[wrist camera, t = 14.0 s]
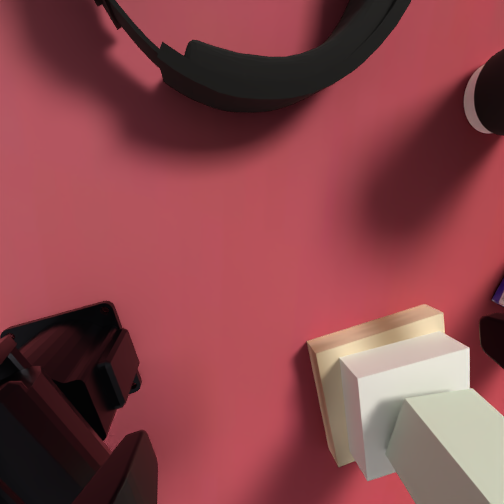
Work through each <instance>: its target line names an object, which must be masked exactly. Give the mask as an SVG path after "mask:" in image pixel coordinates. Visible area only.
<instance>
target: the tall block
mask: <svg viewBox="0 0 504 504" xmlns="http://www.w3.org/2000/svg"><path fill="white" fill-rule="evenodd" d="M385 455H386V456H387V458H388V459H389V461H390V463H391V464H392V466H393V468H394V469H395V471H396V472H397V474H398V476H399V477H400V479H401V481H402V482H403V484H404V485H405V487H406V489H407V490H408V492H409V493H410V495H411V497H412V498H413V500H414V502H415V503H416V504H504V416H502V415H501V414H500V413H499V412H498V411H497V410H496V409H495V408H494V407H493V406H491V405H490V404H489V403H488V402H487V401H486V400H485V399H484V398H483V397H481V396H480V395H479V394H478V393H477V392H476V391H475V390H474V389H473V388H471V389H465V390H458V391H451V392H444V393H438V394H431V395H424V396H417V397H411V398H405V399H404V402H403V405H402V408H401V410H400V413H399V416H398V419H397V422H396V425H395V427H394V430H393V433H392V436H391V439H390V441H389V444H388V447H387V450H386V453H385Z"/></svg>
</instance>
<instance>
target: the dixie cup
mask: <svg viewBox="0 0 504 504" xmlns="http://www.w3.org/2000/svg"><path fill="white" fill-rule="evenodd" d="M464 110H465V114H466V117H467V119H468V121H469V123H470V124H471V125H472V126H473V128H475V129H476V130H477V131H479V132H482V133H487V134H490V133H494V134H497V135H504V49H503V50H501V51H500V52H498V53H496V54H495V55H494V56H492V57H491V58H490V59H489V60H488V61H487V62H486V64H484V65H482V66H481V67H480V68H478V69H477V70H476V71H475V72H474V74H473V75H472V76H471V78H470V80H469V82H468V84H467V86H466V89H465V94H464Z"/></svg>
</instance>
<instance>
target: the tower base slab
mask: <svg viewBox="0 0 504 504" xmlns="http://www.w3.org/2000/svg"><path fill="white" fill-rule="evenodd" d="M437 331H441V332H442V333H444V334H445V329H444V317H443V312H441V311H439V310H437V309H434V308H432V307H430V306H428V305H426V304H423V305H420V306H417V307H414V308H411V309H407V310H404V311H401V312H398V313H395V314H392V315H388V316H385V317H382V318H379V319H376V320H372V321H369V322H366V323H363V324H360V325H357V326H353V327H350V328H347V329H344V330H341V331H338V332H334V333H331V334H328V335H325V336H322V337H318V338H315V339H312V340H309V341H307V345H308V350H309V355H310V360H311V365H312V370H313V375H314V380H315V384H316V389H317V394H318V399H319V404H320V409H321V414H322V419H323V423H324V428H325V433H326V438H327V443H328V448H329V450H330V452H331V454H332V456H333V458H334V460H335V462H336V464H337V466H338V467H341V466H343V465H346V464H349V463H351V462H354V461H355V459H354V458H353V456H352V454H351V453H350V451H349V443H348V434H347V425H346V416H345V406H344V397H343V388H342V379H341V369H340V360H339V357H343V356H347V355H350V354H354V353H358V352H362V351H365V350H369V349H373V348H377V347H381V346H384V345H388V344H392V343H396V342H399V341H403V340H407V339H411V338H415V337H418V336H422V335H426V334H430V333H433V332H437Z"/></svg>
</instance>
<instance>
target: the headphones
mask: <svg viewBox="0 0 504 504" xmlns="http://www.w3.org/2000/svg"><path fill="white" fill-rule="evenodd" d="M94 1H95V3H96V5H97V6H100V5H103V6H104V8H105V10H106V11H107V13H108V15H109V16H110V18H111V20H112V21H113V23H114V25H115V26H116V28H117V30H118V29H119V28H121V27H122V28H123V29H124V30H125V31H126V32H127V34H128V35H129V36H130V37H131V39H132V40H133V41H134V42H135V43H136V45H137V46H138V47H139V48H140V49H141V50H142V51H143V52H144V53H145V54H146V56H147V57H148V58H149V59H150V60H151V61H152V62H153V63H154V64H155V65H157V66H158V67H159V68H160V70H161V73H162V77H163V81H164V82H165V83H166V84H168V85H169V86H171V87H172V88H174V89H175V90H176V91H178V92H180V93H182V94H184V95H186V96H187V97H189V98H191V99H193V100H195V101H198V102H200V103H203V104H205V105H207V106H210V107H212V108H215V109H219V110H223V111H230V112H253V113H254V112H266V111H272V110H277V109H280V108H283V107H286V106H289V105H292V104H294V103H296V102H298V101H301V100H303V99H305V98H307V97H309V96H311V95H312V94H314V93H316V92H318V91H320V90H322V89H324V88H326V87H328V86H330V85H332V84H334V83H335V82H337V81H339V80H340V79H342V78H343V77H345V76H346V75H348V74H349V73H351V72H352V71H354V70H355V69H356V68H357V67H359V66H360V65H361V64H362V63H364V61H365V60H366V59H367V58H368V57H369V56H370V55H371V54H372V53H373V52H374V51H375V50H376V49H377V48H378V47H379V46H380V45H381V44H382V43H383V41H384V40H385V39H386V38H387V36H388V35H389V34H390V33H391V32H392V30H393V29H394V28H395V27H396V25H397V24H398V22H399V20H400V19H401V17H402V15H403V14H404V12H405V11H406V9H407V7H408V6H409V4H410V2H411V0H350V1H349V3H348V5H347V7H346V10H345V12H344V14H343V16H342V18H341V20H340V22H339V23H338V25H337V26H336V28H335V29H334V31H333V32H332V34H331V35H330V37H329V38H328V39H327V40H326V41H325V42H324V44H322V45H320V46H318V47H317V48H315V49H312V50H309V51H307V52H304V53H301V54H297V55H292V56H287V57H267V56H259V55H250V54H242V53H236V52H233V51H229V50H226V49H222V48H219V47H215V46H212V45H209V44H206V43H204V42H201V41H198V40H192V41H190V42H189V43H188V45H187V48H186V51H185V55H184V56H183V55H181V54H180V53H178V52H177V51H175V50H174V49H172V48H171V47H169V46H168V45H167V44H165V43H164V42H162V44H161V47H160V49H159V48H158V47H157V46H156V45H155V44H153V43H152V42H151V41H150V40H149V39H148V38H147V37H146V36H145V35H144V33H143V32H142V31H141V30H140V29H139V28H138V27H137V26H136V25H135V24H134V22H133V21H132V20H131V19H130V18H129V17H128V15H127V14H126V13H125V12H124V10H123V9H122V8H121V7H120V6H119V4H118V3H117V2H116V1H115V0H94Z"/></svg>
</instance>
